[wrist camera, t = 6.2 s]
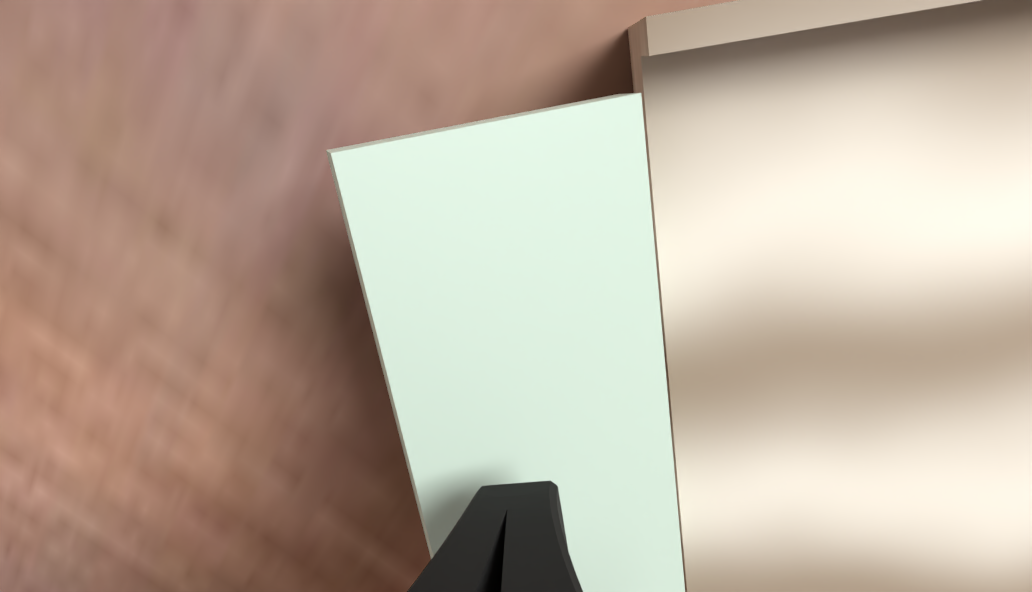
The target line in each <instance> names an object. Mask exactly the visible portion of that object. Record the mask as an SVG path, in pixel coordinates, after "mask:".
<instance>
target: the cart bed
mask: <svg viewBox="0 0 1032 592" xmlns="http://www.w3.org/2000/svg"><path fill="white" fill-rule="evenodd" d="M628 36H629V47H630V58H631V69H632V79H633V90H634V93H641V96H642V108H643V119H644V130H645V142H646V153H647V164H648V176H649V187H650V198H651V210H652V221H653V232H654V244H655V255H656V266H657V278H658V289H659V301H660V312H661V323H662V335H663V346H664V357H665V369H666V380H667V391H668V403H669V414H670V425H671V437H672V448H673V459H674V471H675V482H676V493H677V505H678V516H679V528H680V539H681V550H682V562H683V573H684V584H685V592H1032V0H738V1H732V2H726V3H721V4H715V5H709V6H704V7H698V8H692V9H687V10H681V11H675V12H670V13H664V14H658V15H653V16H647V17H645V18H643V19H641V20H640V21H638V22H637V23H635V24H633V25H632V26H630V27H628Z"/></svg>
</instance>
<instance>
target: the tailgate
mask: <svg viewBox="0 0 1032 592" xmlns="http://www.w3.org/2000/svg"><path fill="white" fill-rule="evenodd" d="M326 152H327V156H328V160H329V164H330V167H331V171H332V175H333V179H334V183H335V187H336V191H337V195H338V199H339V202H340V206H341V210H342V214H343V218H344V222H345V226H346V230H347V234H348V238H349V241H350V245H351V249H352V253H353V257H354V261H355V265H356V269H357V273H358V276H359V280H360V284H361V288H362V292H363V296H364V300H365V304H366V308H367V311H368V315H369V319H370V323H371V327H372V331H373V335H374V339H375V343H376V346H377V350H378V354H379V358H380V362H381V366H382V370H383V374H384V378H385V381H386V385H387V389H388V393H389V397H390V401H391V405H392V409H393V413H394V417H395V420H396V424H397V428H398V432H399V436H400V440H401V444H402V448H403V452H404V455H405V459H406V463H407V467H408V471H409V475H410V479H411V483H412V487H413V490H414V494H415V498H416V502H417V506H418V510H419V514H420V518H421V522H422V525H423V529H424V533H425V537H426V541H427V545H428V549H429V553H430V557H431V559H432V558H433V556H434V555H435V554H436V552H437V551H438V549H439V548H440V547H441V545H442V544H443V542H444V541H445V539H446V538H447V536H448V535H449V534H450V532H451V531H452V529H453V528H454V526H455V525H456V523H457V522H458V520H459V519H460V517H461V515H462V514H463V512H464V511H465V509H466V508H467V506H468V505H469V503H470V502H471V500H472V498H473V497H474V495H475V494H476V492H477V491H478V490H479V489H480V488H481V486H486V485H499V484H512V483H525V482H538V481H552V482H553V483H555V484H556V485H557V486H558V491H559V497H560V503H561V509H562V515H563V521H564V527H565V533H566V539H567V546H568V552H569V555H570V558H571V561H572V563H573V566H574V569H575V572H576V575H577V577H578V580H579V583H580V585H581V588H582V590H583V592H685V584H684V573H683V562H682V550H681V539H680V528H679V516H678V505H677V493H676V482H675V471H674V459H673V448H672V437H671V425H670V414H669V403H668V391H667V380H666V369H665V357H664V346H663V335H662V323H661V312H660V301H659V289H658V278H657V266H656V255H655V244H654V232H653V221H652V210H651V198H650V187H649V176H648V164H647V153H646V142H645V130H644V119H643V108H642V96H641V93H629V94H616V95H611V96H606V97H600V98H595V99H590V100H585V101H580V102H574V103H569V104H564V105H559V106H554V107H548V108H543V109H538V110H533V111H528V112H522V113H517V114H512V115H507V116H502V117H496V118H491V119H486V120H481V121H476V122H471V123H465V124H460V125H455V126H450V127H445V128H439V129H434V130H429V131H424V132H419V133H413V134H408V135H403V136H398V137H393V138H387V139H382V140H377V141H372V142H367V143H361V144H356V145H351V146H346V147H341V148H335V149H330V150H326Z"/></svg>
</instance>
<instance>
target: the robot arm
mask: <svg viewBox="0 0 1032 592" xmlns="http://www.w3.org/2000/svg"><path fill="white" fill-rule="evenodd" d="M407 592H583V590H582V588H581V585H580V583H579V580H578V577H577V575H576V572H575V569H574V566H573V563H572V561H571V558H570V555H569V552H568V546H567V539H566V533H565V527H564V521H563V515H562V509H561V503H560V497H559V491H558V486H557V485H556V484H555V483H553V482H552V481H538V482H525V483H512V484H499V485H486V486H481V488H480V489H479V490H478V491H477V492H476V494H475V495H474V497H473V498H472V500H471V502H470V503H469V505H468V506H467V508H466V509H465V511H464V512H463V514H462V515H461V517H460V519H459V520H458V522H457V523H456V525H455V526H454V528H453V529H452V531H451V532H450V534H449V535H448V536H447V538H446V539H445V541H444V542H443V544H442V545H441V547H440V548H439V549H438V551H437V552H436V554H435V555H434V556H433V558H432V559H431V561H430V562H429V563H428V565H427V566H426V568H425V569H424V570H423V572H422V573H421V574H420V576H419V577H418V578H417V580H416V581H415V582H414V584H413V585H412V586H411V587H410V589H409V590H408V591H407Z"/></svg>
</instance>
